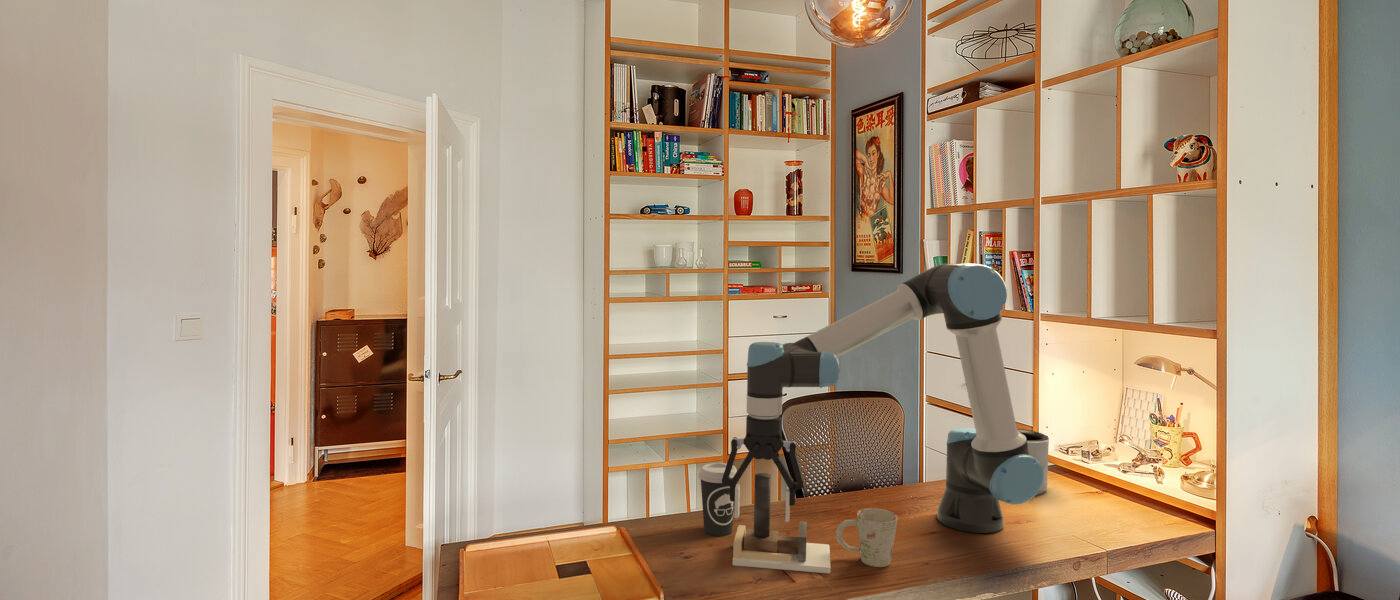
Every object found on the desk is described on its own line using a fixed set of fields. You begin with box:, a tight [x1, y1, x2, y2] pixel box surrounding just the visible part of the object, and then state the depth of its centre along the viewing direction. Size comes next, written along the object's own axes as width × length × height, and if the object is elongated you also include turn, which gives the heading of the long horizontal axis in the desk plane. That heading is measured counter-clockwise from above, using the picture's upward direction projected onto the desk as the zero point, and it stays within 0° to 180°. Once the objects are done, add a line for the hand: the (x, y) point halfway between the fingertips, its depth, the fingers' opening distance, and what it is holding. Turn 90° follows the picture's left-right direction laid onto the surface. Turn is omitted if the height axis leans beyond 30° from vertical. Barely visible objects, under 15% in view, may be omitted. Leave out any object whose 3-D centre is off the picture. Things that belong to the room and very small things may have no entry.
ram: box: [744, 472, 808, 561], centre depth 150 cm, size 13×9×16 cm
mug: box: [835, 507, 898, 568], centre depth 149 cm, size 8×13×10 cm, turn 78°
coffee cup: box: [698, 462, 738, 537], centre depth 164 cm, size 10×10×15 cm
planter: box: [1017, 428, 1050, 496], centre depth 199 cm, size 16×16×16 cm
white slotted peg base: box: [732, 524, 832, 574], centre depth 150 cm, size 20×12×4 cm, turn 81°
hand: (761, 517), depth 150 cm, fingers open, 10 cm apart
